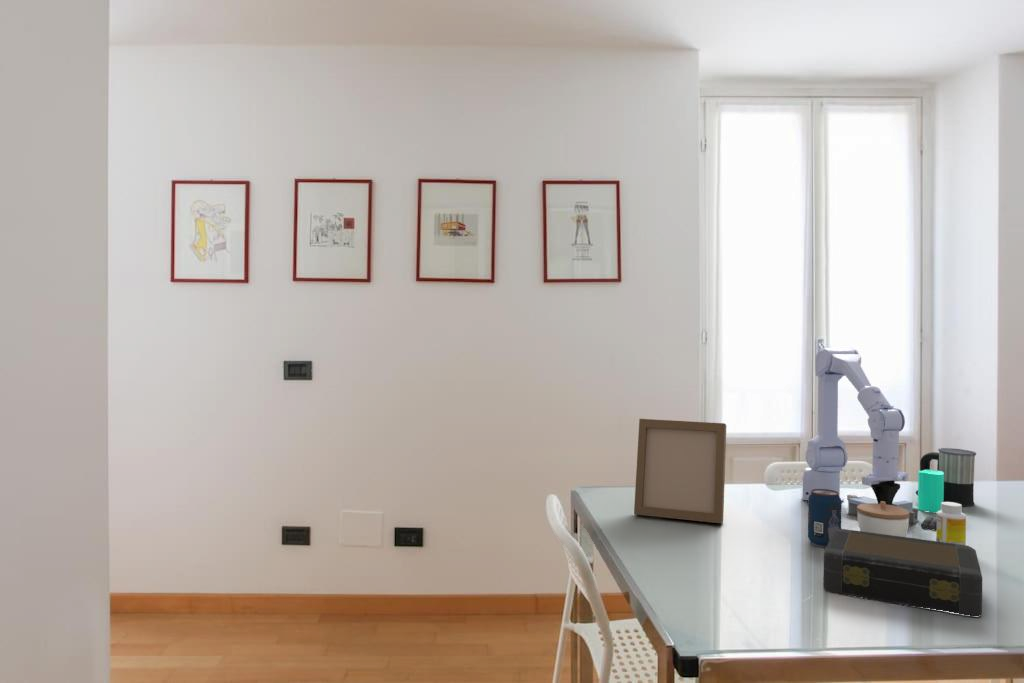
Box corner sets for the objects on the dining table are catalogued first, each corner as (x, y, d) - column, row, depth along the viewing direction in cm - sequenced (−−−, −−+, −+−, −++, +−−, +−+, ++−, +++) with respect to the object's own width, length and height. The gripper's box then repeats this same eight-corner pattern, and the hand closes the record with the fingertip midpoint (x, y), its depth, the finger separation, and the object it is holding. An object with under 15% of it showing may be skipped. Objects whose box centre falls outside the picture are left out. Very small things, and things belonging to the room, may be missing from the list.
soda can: (815, 537, 166) (816, 486, 166) (845, 544, 161) (846, 491, 161) (802, 543, 162) (803, 491, 161) (833, 550, 157) (834, 496, 156)
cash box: (974, 584, 137) (975, 544, 137) (982, 621, 120) (983, 576, 120) (833, 562, 150) (834, 525, 150) (822, 593, 132) (822, 552, 132)
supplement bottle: (971, 551, 157) (971, 505, 157) (955, 554, 154) (956, 508, 154) (946, 544, 162) (946, 499, 162) (930, 547, 159) (931, 502, 159)
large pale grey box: (845, 514, 188) (845, 502, 187) (851, 509, 192) (851, 498, 192) (913, 524, 178) (913, 513, 178) (917, 519, 182) (918, 508, 182)
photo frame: (721, 527, 175) (722, 426, 174) (633, 517, 183) (634, 421, 182) (727, 512, 188) (728, 419, 188) (645, 504, 196) (646, 414, 196)
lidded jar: (906, 539, 166) (907, 499, 165) (910, 552, 156) (911, 509, 156) (856, 533, 170) (856, 494, 170) (856, 545, 160) (857, 504, 160)
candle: (936, 507, 195) (937, 464, 195) (947, 513, 189) (948, 468, 189) (913, 507, 196) (914, 463, 195) (924, 512, 190) (925, 468, 189)
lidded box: (840, 500, 189) (840, 491, 189) (855, 498, 192) (856, 488, 192) (896, 514, 174) (896, 504, 174) (912, 512, 177) (912, 502, 177)
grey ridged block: (943, 525, 172) (942, 532, 172) (948, 518, 179) (948, 524, 179) (920, 522, 175) (920, 528, 175) (926, 514, 182) (926, 521, 182)
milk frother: (975, 501, 202) (976, 449, 202) (975, 513, 189) (976, 458, 189) (918, 495, 210) (918, 445, 210) (914, 506, 197) (915, 452, 197)
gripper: (880, 462, 169) (879, 518, 169) (919, 457, 176) (918, 512, 176) (854, 457, 176) (853, 511, 176) (893, 453, 182) (892, 505, 182)
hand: (884, 511), depth 176 cm, fingers closed
